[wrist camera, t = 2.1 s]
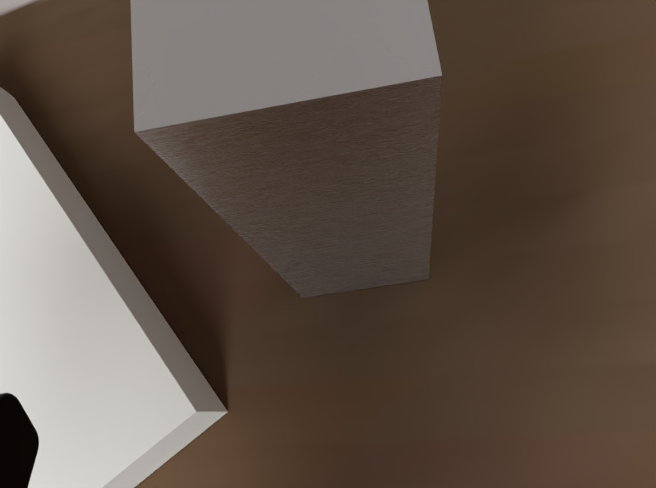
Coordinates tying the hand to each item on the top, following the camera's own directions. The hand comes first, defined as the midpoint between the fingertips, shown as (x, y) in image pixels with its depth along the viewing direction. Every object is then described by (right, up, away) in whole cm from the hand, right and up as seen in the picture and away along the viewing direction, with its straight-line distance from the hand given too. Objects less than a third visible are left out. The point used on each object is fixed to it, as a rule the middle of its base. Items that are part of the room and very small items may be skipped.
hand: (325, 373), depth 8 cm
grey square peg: (+1, +2, +13) cm, 13 cm away
